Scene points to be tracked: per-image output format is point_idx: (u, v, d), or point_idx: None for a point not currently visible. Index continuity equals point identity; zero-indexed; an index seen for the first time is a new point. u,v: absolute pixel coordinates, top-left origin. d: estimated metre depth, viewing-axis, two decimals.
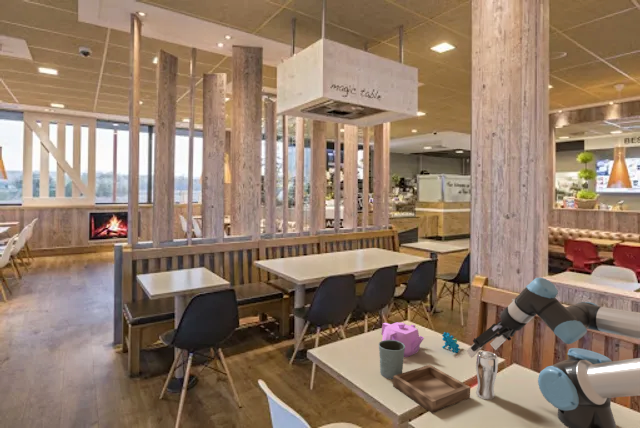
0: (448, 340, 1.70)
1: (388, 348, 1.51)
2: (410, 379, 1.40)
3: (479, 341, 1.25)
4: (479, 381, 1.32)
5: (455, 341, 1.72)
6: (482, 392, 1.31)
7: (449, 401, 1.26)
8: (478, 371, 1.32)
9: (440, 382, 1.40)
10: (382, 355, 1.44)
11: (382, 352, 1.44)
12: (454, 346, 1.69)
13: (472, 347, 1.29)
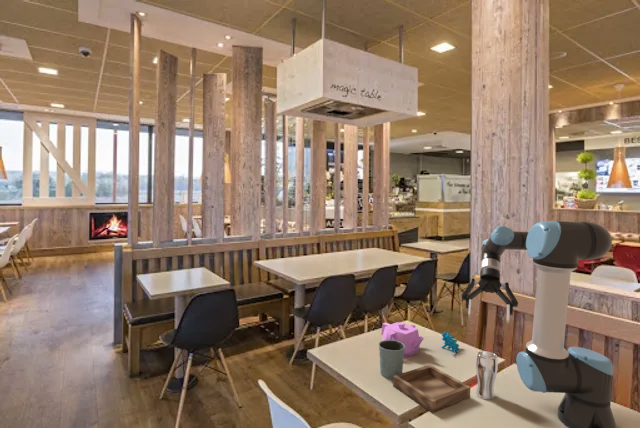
0: (448, 340, 1.70)
1: (388, 348, 1.51)
2: (410, 379, 1.40)
3: None
4: (479, 381, 1.32)
5: (455, 341, 1.72)
6: (482, 392, 1.31)
7: (449, 401, 1.26)
8: (478, 371, 1.32)
9: (440, 382, 1.40)
10: (382, 355, 1.44)
11: (382, 352, 1.44)
12: (454, 346, 1.69)
13: None
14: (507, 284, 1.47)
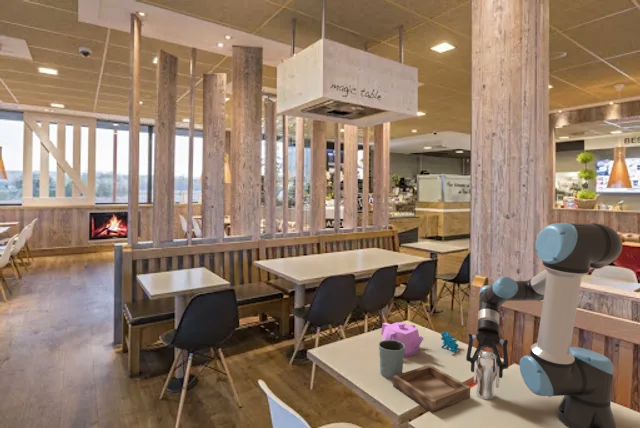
0: (447, 339, 1.70)
1: (388, 348, 1.51)
2: (410, 379, 1.40)
3: None
4: (479, 381, 1.32)
5: (454, 341, 1.73)
6: (482, 392, 1.31)
7: (449, 401, 1.26)
8: (478, 371, 1.32)
9: (440, 382, 1.40)
10: (382, 355, 1.44)
11: (382, 352, 1.44)
12: (453, 346, 1.69)
13: (471, 369, 1.35)
14: (506, 342, 1.36)
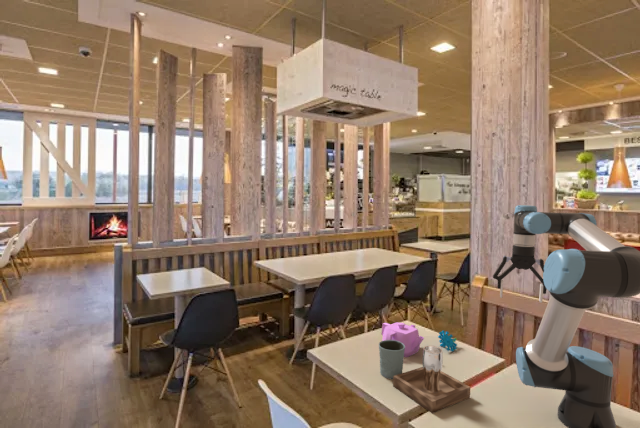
0: (444, 338, 1.72)
1: (388, 348, 1.51)
2: (410, 379, 1.40)
3: (494, 273, 1.47)
4: (425, 375, 1.33)
5: (453, 340, 1.73)
6: (427, 386, 1.33)
7: (449, 401, 1.26)
8: (423, 365, 1.33)
9: (440, 382, 1.40)
10: (382, 355, 1.44)
11: (382, 352, 1.44)
12: (450, 345, 1.70)
13: None
14: (542, 262, 1.39)
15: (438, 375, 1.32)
